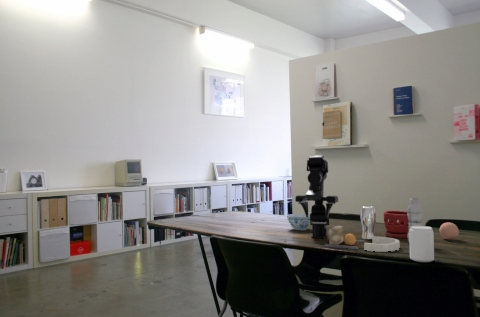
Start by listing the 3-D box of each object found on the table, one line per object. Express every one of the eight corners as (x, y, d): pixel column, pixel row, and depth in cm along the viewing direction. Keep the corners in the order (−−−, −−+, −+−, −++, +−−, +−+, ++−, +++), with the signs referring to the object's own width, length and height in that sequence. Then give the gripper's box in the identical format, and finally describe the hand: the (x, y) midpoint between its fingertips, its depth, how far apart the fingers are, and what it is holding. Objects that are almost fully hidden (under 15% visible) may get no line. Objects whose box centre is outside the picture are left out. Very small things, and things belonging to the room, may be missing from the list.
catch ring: (364, 250, 162) (363, 243, 162) (372, 242, 178) (372, 236, 179) (396, 253, 156) (396, 245, 156) (402, 245, 173) (401, 238, 173)
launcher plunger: (329, 245, 172) (329, 229, 173) (336, 240, 183) (336, 225, 183) (336, 246, 171) (336, 229, 171) (343, 241, 182) (343, 226, 182)
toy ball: (458, 238, 186) (457, 221, 186) (459, 241, 179) (459, 224, 179) (439, 237, 189) (438, 221, 189) (439, 240, 182) (439, 223, 182)
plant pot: (383, 238, 190) (383, 213, 190) (384, 233, 202) (384, 210, 202) (413, 239, 185) (412, 213, 185) (412, 235, 197) (411, 210, 197)
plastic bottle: (422, 242, 177) (421, 197, 178) (424, 245, 171) (422, 199, 171) (406, 241, 179) (405, 197, 180) (407, 244, 173) (406, 198, 173)
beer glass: (377, 239, 186) (376, 207, 186) (361, 239, 187) (361, 207, 187) (375, 237, 192) (374, 206, 193) (360, 236, 194) (359, 206, 194)
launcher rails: (324, 246, 171) (324, 244, 171) (334, 240, 185) (334, 238, 185) (357, 249, 165) (357, 247, 165) (365, 242, 179) (365, 240, 179)
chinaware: (314, 231, 211) (314, 217, 211) (286, 231, 214) (286, 217, 214) (314, 227, 226) (314, 214, 226) (288, 227, 229) (287, 213, 229)
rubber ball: (343, 245, 173) (342, 234, 173) (345, 243, 177) (345, 232, 178) (354, 246, 171) (354, 235, 171) (357, 244, 175) (357, 233, 175)
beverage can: (405, 258, 148) (404, 225, 149) (426, 257, 149) (425, 225, 149) (417, 263, 140) (416, 229, 141) (438, 262, 141) (438, 228, 141)
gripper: (290, 184, 179) (291, 218, 179) (331, 184, 170) (332, 221, 170) (299, 183, 189) (299, 215, 189) (338, 183, 180) (338, 217, 180)
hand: (316, 217), depth 182 cm, fingers open, 9 cm apart
